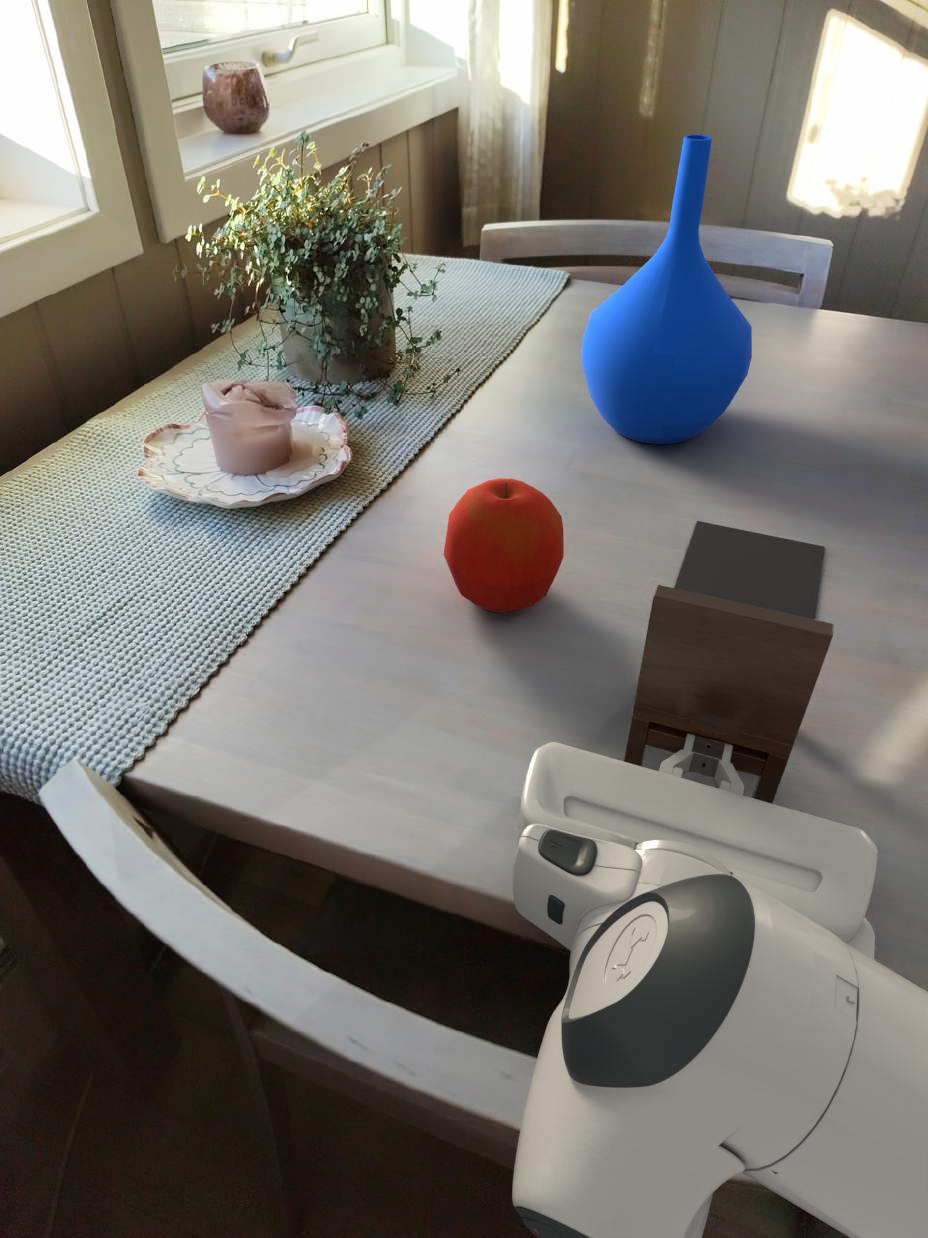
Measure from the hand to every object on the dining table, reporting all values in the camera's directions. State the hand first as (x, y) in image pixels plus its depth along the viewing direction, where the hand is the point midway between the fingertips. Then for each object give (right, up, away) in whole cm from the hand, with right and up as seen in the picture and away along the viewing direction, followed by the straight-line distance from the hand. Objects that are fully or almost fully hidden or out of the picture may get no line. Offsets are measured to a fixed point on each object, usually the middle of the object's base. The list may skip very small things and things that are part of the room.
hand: (708, 745), depth 56 cm
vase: (+6, +31, +45) cm, 55 cm away
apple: (-12, +10, +20) cm, 26 cm away
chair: (+2, -1, +7) cm, 7 cm away
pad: (+10, +13, +23) cm, 29 cm away
